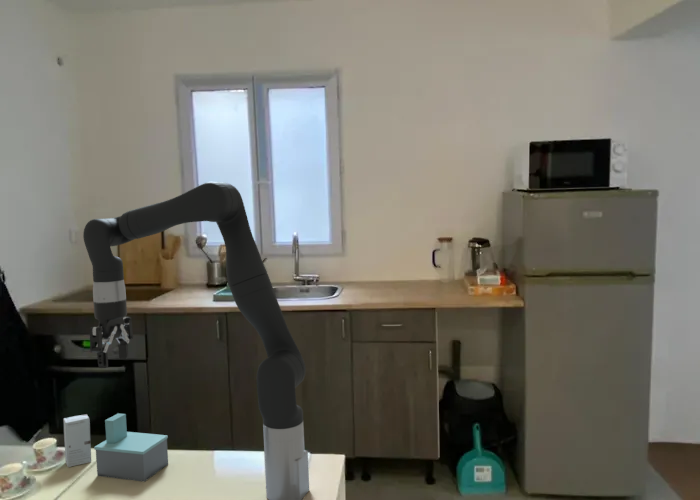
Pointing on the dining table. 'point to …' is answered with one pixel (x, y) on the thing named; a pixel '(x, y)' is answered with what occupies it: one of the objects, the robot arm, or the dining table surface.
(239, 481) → the dining table surface
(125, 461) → the box
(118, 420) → the tub lid
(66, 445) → the skincare box
